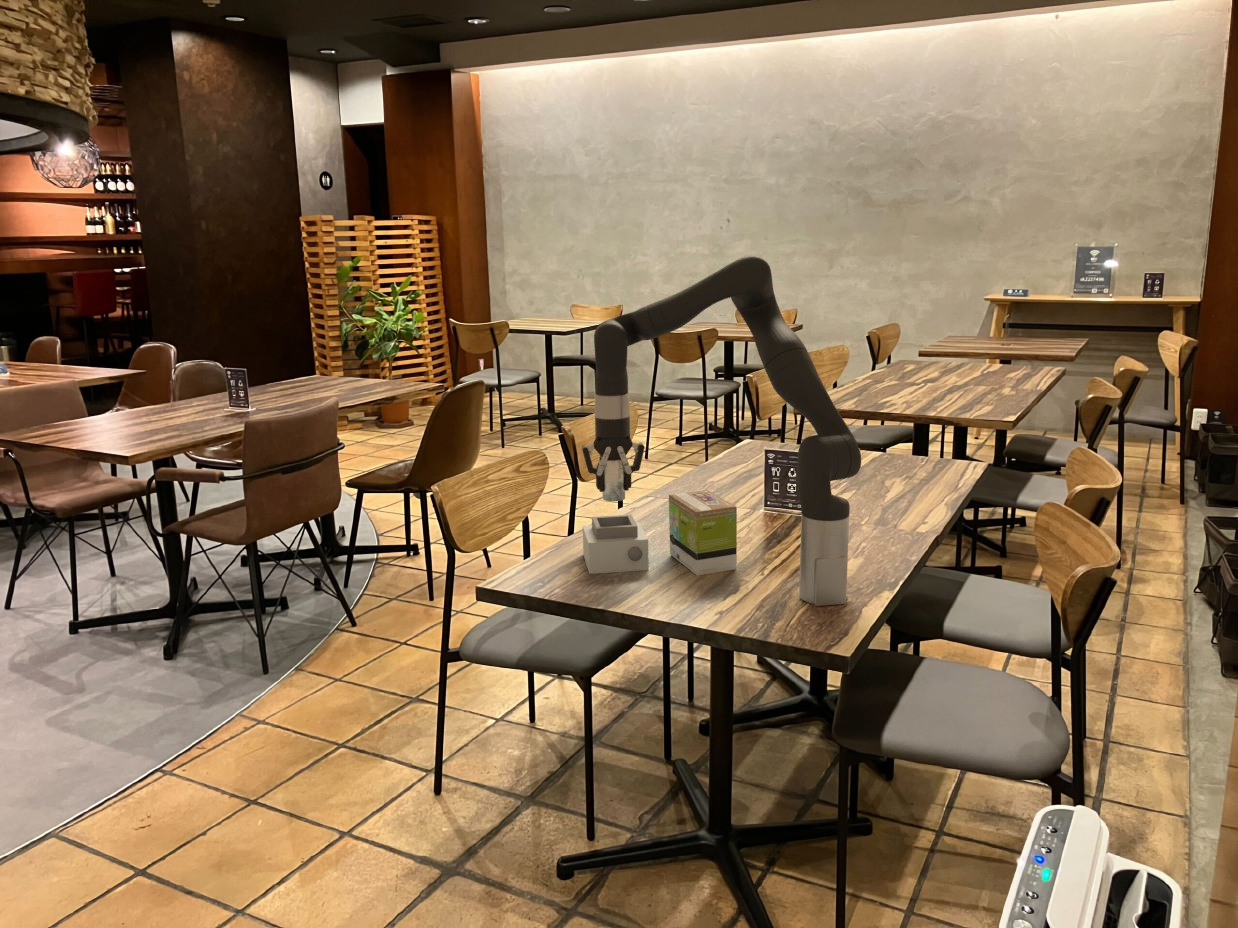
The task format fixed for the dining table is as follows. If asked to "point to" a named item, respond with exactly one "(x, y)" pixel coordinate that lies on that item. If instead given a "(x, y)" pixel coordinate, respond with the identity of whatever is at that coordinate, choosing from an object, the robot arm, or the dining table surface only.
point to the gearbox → (615, 545)
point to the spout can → (614, 481)
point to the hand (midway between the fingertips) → (613, 490)
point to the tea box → (703, 532)
